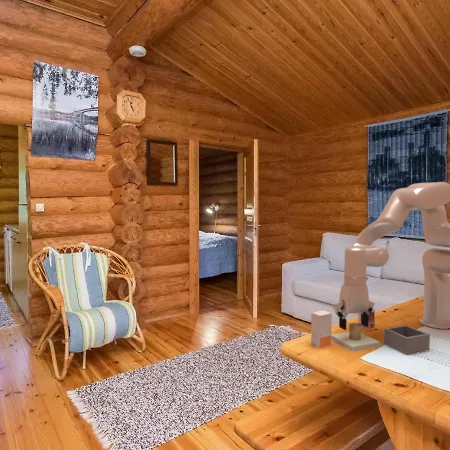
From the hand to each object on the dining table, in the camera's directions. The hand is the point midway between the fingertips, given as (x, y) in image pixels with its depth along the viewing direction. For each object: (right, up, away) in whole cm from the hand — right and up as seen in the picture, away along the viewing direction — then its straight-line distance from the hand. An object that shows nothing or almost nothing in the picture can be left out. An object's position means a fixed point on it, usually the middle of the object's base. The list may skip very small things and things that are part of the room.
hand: (353, 327), depth 132 cm
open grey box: (+16, -6, -5) cm, 18 cm away
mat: (+1, -6, +1) cm, 6 cm away
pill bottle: (+10, -5, +15) cm, 19 cm away
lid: (+1, -5, 0) cm, 5 cm away
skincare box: (-12, -6, -2) cm, 14 cm away
